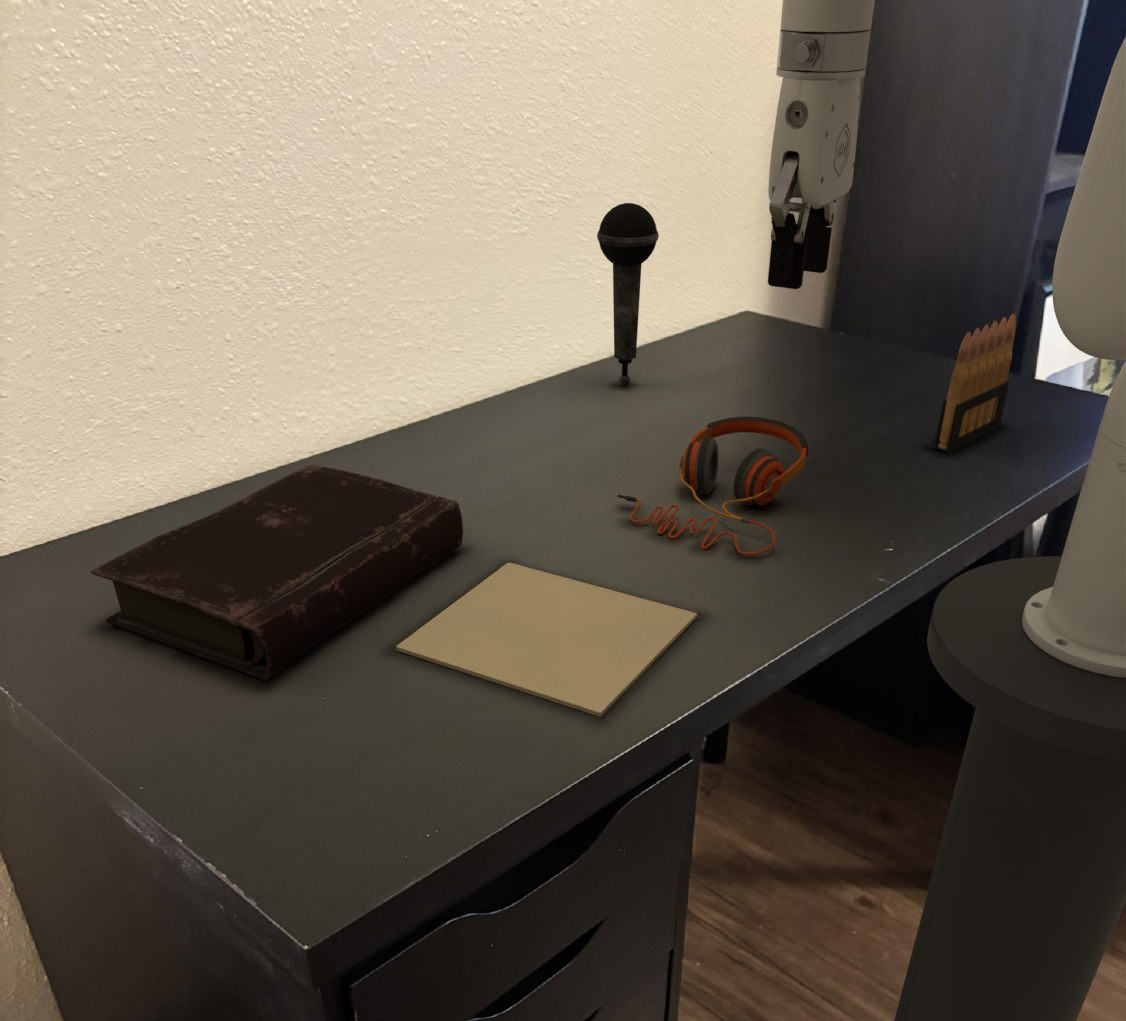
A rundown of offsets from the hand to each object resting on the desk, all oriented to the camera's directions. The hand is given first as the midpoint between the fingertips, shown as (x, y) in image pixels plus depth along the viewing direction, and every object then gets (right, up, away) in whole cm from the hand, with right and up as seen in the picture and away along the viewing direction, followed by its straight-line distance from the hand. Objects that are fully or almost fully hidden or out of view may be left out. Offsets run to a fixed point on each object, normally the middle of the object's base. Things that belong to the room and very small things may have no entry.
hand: (797, 276), depth 105 cm
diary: (-45, -31, -11) cm, 56 cm away
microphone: (-15, -1, +28) cm, 32 cm away
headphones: (-7, -22, +1) cm, 23 cm away
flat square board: (-23, -36, -18) cm, 46 cm away
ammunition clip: (+21, -12, +14) cm, 28 cm away
